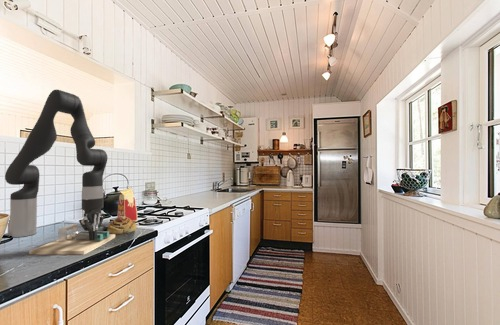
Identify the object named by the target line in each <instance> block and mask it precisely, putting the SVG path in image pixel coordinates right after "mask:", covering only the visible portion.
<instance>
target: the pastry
mask: <svg viewBox="0 0 500 325" xmlns="http://www.w3.org/2000/svg"><path fill="white" fill-rule="evenodd" d="M137 230H138V226H137V223H136V222H135V221H133V220H131V219H130V218H127V217H125V216H123V217H122V216H120V217H118V218H117V217H116V218H115V219H114V220H112V221H111V222H109V224H108V226H107V230H106V231H109V234H115V236H119V235H121V236H122V235H123V234H128V233H133V232H135V231H137Z"/></svg>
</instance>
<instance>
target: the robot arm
mask: <svg viewBox="0 0 500 325" xmlns="http://www.w3.org/2000/svg"><path fill="white" fill-rule="evenodd" d="M84 110H85V109H84V106H83V103H82V100H81V98H80V97H79V96H77V95H76V94H74V93H70V92H67V91H64V90H62V89H53V90H52V91H51V92H50V93H49V94H48V96H47V99H46V101H45V102H44V105H43V108H42V110H41V113H40V114H39V117H38V119H37V120H36V123H35V124H34V126H33V128H32V129H31V131H30V132H29V135H28V136H27V138H26V139H25V142H24V144H23V146H22V147H21V149H20V151H19V152H18V154H17V155H16V156H15V158H14V159H13V160H12V162H11V163H10V165H9V166H8V167H7V168H6V172H5V176H4V178H5V182H6V183H7V184H9V185H12V186H15V185H17V186H18V185H19V186H20V185H23V186H22V187H21V188H20V189H19V190H17V191H14V192H11V193H10V198H9V200H10V201H9V203H10V205H9V206H10V212H9V215H10V220H9V223H8V222H7V236H8V235H9V236H8V237H10V236H12V237H11V238H22V237H28V236H33V235H35V234H36V233H37V223H38V222H37V220H38V219H37V218H38V216H37V214H38V212H37V211H38V210H37V209H38V208H37V207H38V194H39V193H38V192H39V189H40V188H39V185H40V177H41V176H40V170H39V168H38V166H36V165H34V164H31V163H32V162H34V161H35V160H37V159H39V158H40V157H42V156H44V155H45V154H47V152H50V150H51V148H52V147H53V146H54V144H55V143H56V141H57V137H58V134H57V131H56V127H55V124H54V120H55V118H56V115H57V113H59V112H60V113H64V114H66V115H67V114H68V115H71V117H72V118H73V122H72V124H71V126H70V135H71V138H72V140H73V142H74V144H75V150H76V161H77V162H78V163H79V164H80V165H82V166H83V167H93V168H92V170H90V171H85V172H83V174H82V177H81V178H82V181H81V182H82V187H81V188H82V189H81V210H82V211H84V214H83V218H82V219H79V221H78V222H79V224H80V226H81V227H82V229H83V230H84V231H89V240H90V241H92V240H96V239H97V231H99V228H101V227H102V224H103V222H104V219H105V216H106V215H105V214H102V209H103V208H104V186H103V184H104V183H103V182H104V181H103V180H104V177H103V176H104V174H105V169H106V166H107V163H108V154H107V152H106V151H105V150H104V149H100V148H93V147H95V146H96V140H95V138H94V136H93V134H92V132H91V130H90V127H89V126H88V123H87V117H86V114H85V111H84Z"/></svg>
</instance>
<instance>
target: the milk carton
mask: <svg viewBox="0 0 500 325" xmlns="http://www.w3.org/2000/svg"><path fill="white" fill-rule="evenodd" d="M132 189H133V188H132V186H131V187H128V188H126V189H122V190H119V192H120V193H119V198H118V204H117V205H118V206H117V217H116V218H118V217H120V216H122V217H123V216H125V217H127V218H130V219H131V220H133V221H135V223H136V222H138V209H137V202H136V201H137V200H136V199H135V195H134V192H133V190H132Z"/></svg>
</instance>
